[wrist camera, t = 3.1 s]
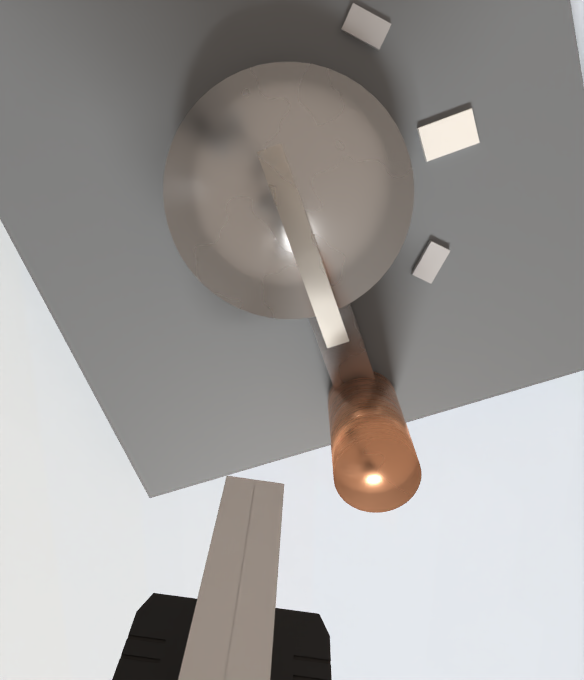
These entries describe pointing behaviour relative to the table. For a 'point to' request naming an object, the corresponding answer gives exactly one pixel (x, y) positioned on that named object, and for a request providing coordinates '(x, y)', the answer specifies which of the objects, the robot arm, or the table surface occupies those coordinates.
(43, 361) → the table surface
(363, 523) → the table surface
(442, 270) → the board
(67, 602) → the table surface
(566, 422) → the table surface
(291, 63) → the dial
